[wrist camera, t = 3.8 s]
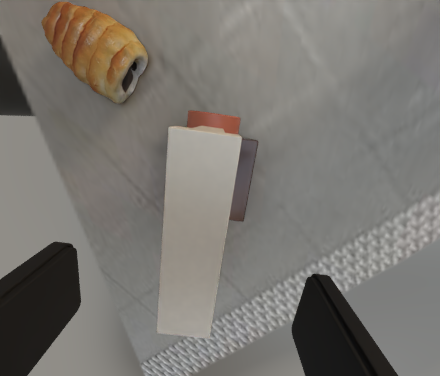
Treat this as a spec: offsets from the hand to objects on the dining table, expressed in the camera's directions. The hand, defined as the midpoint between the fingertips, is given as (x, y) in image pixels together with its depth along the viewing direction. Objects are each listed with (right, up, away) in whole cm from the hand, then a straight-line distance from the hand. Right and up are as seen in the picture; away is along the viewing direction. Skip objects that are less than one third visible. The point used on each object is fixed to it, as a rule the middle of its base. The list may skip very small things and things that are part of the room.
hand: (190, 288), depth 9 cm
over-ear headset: (0, +4, +13) cm, 14 cm away
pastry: (-11, +18, +14) cm, 25 cm away
